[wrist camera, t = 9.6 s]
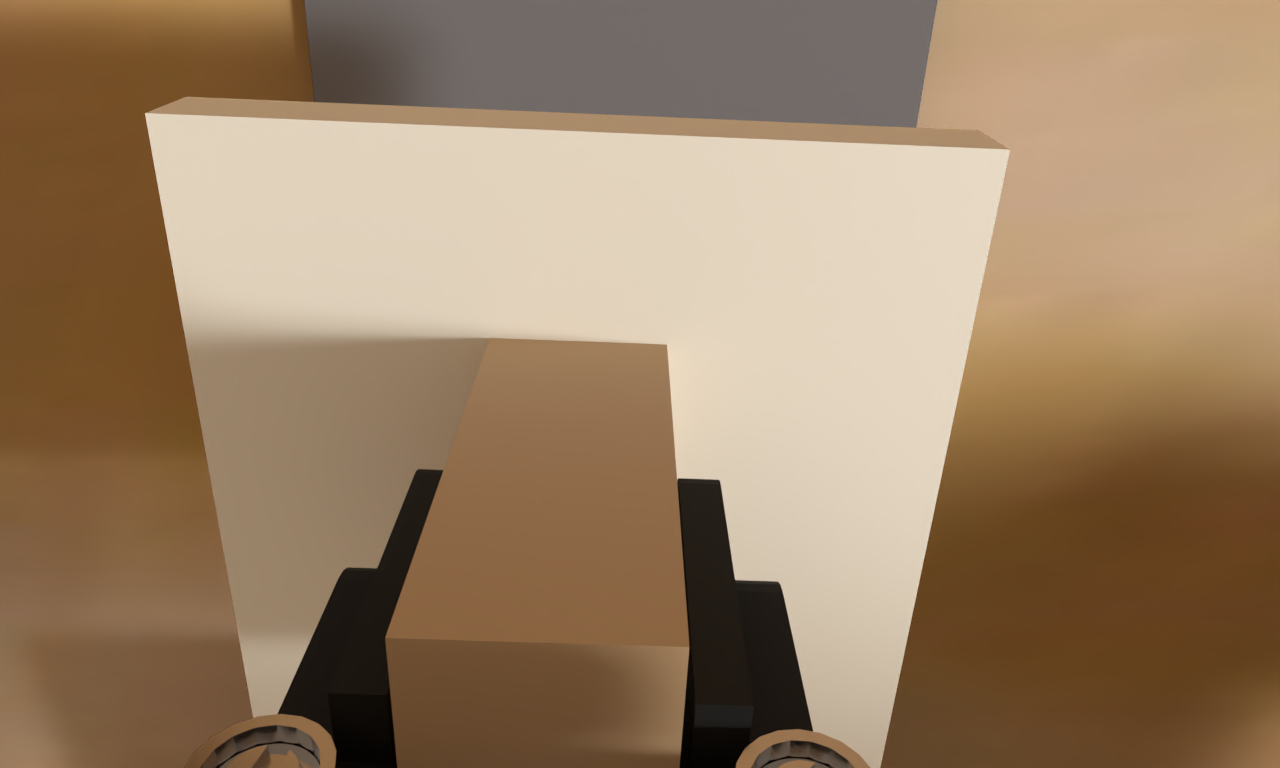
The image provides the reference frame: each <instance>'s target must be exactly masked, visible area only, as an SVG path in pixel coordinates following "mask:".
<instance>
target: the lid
mask: <svg viewBox="0 0 1280 768" xmlns="http://www.w3.org/2000/svg"><path fill="white" fill-rule="evenodd" d="M145 116H146V122H147V128H148V133H149V139H150V144H151V150H152V156H153V161H154V167H155V172H156V178H157V183H158V189H159V195H160V200H161V206H162V211H163V217H164V223H165V228H166V234H167V239H168V245H169V251H170V256H171V262H172V267H173V273H174V278H175V284H176V290H177V295H178V301H179V306H180V312H181V318H182V323H183V329H184V334H185V340H186V345H187V351H188V357H189V362H190V368H191V373H192V379H193V385H194V390H195V396H196V401H197V407H198V412H199V418H200V424H201V429H202V435H203V440H204V446H205V452H206V457H207V463H208V468H209V474H210V480H211V485H212V491H213V496H214V502H215V507H216V513H217V519H218V524H219V530H220V535H221V541H222V547H223V552H224V558H225V563H226V569H227V574H228V580H229V586H230V591H231V597H232V602H233V608H234V614H235V619H236V625H237V630H238V636H239V641H240V647H241V653H242V658H243V664H244V669H245V675H246V681H247V686H248V692H249V697H250V703H251V709H252V714H253V718H255V717H258V716H266V715H275V714H278V712H279V709H280V707H281V705H282V703H283V700H284V698H285V696H286V694H287V692H288V689H289V687H290V685H291V683H292V680H293V678H294V676H295V674H296V672H297V669H298V667H299V665H300V663H301V660H302V658H303V656H304V654H305V652H306V649H307V647H308V645H309V643H310V640H311V638H312V636H313V634H314V632H315V629H316V627H317V625H318V623H319V620H320V618H321V616H322V614H323V612H324V609H325V607H326V605H327V603H328V600H329V598H330V596H331V594H332V592H333V589H334V587H335V585H336V583H337V580H338V578H339V576H340V575H341V573H342V571H343V570H344V569H346V568H348V567H351V568H377V567H378V565H379V562H380V560H381V557H382V555H383V552H384V550H385V547H386V545H387V542H388V540H389V537H390V535H391V532H392V530H393V527H394V525H395V522H396V520H397V517H398V515H399V512H400V510H401V507H402V504H403V502H404V499H405V497H406V494H407V492H408V489H409V487H410V484H411V482H412V479H413V477H414V474H415V472H416V471H417V470H418V469H431V470H443V473H442V476H441V479H440V482H439V485H438V488H437V490H436V493H435V496H434V499H433V502H432V505H431V508H430V511H429V513H428V516H427V519H426V522H425V525H424V528H423V531H422V534H421V536H420V539H419V542H418V545H417V548H416V551H415V554H414V556H413V559H412V562H411V565H410V568H409V571H408V574H407V577H406V579H405V582H404V585H403V588H402V591H401V594H400V597H399V600H398V602H397V605H396V608H395V611H394V614H393V617H392V620H391V623H390V625H389V628H388V631H387V634H386V637H385V642H386V652H387V663H388V674H389V684H390V695H391V706H392V716H393V727H394V738H395V748H396V759H397V768H679V767H680V755H681V743H682V731H683V719H684V707H685V695H686V683H687V671H688V659H689V634H688V620H687V607H686V593H685V580H684V566H683V553H682V539H681V526H680V513H679V499H678V486H677V480H678V478H686V479H714V480H720V484H721V490H722V496H723V503H724V510H725V516H726V523H727V530H728V536H729V543H730V550H731V556H732V563H733V570H734V576H735V580H746V581H776V582H779V583H780V585H781V588H782V591H783V595H784V600H785V604H786V609H787V613H788V618H789V623H790V627H791V632H792V636H793V641H794V646H795V650H796V655H797V659H798V664H799V668H800V673H801V678H802V682H803V687H804V691H805V696H806V701H807V705H808V710H809V714H810V719H811V723H812V728H813V732H818V733H822V734H824V735H827V736H829V737H831V738H834V739H836V740H839V741H841V742H843V743H844V744H845V745H847V746H848V747H849V748H851V749H852V750H854V751H855V752H856V753H858V754H859V755H860V756H861V757H862V758H863V760H864V761H865V762H866V763H867V764H868V766H869V767H870V768H880V767H881V762H882V757H883V753H884V748H885V743H886V738H887V733H888V729H889V724H890V719H891V714H892V710H893V705H894V700H895V695H896V691H897V686H898V681H899V676H900V672H901V667H902V662H903V657H904V652H905V648H906V643H907V638H908V633H909V629H910V624H911V619H912V614H913V610H914V605H915V600H916V595H917V590H918V586H919V581H920V576H921V571H922V567H923V562H924V557H925V552H926V548H927V543H928V538H929V533H930V529H931V524H932V519H933V514H934V509H935V505H936V500H937V495H938V490H939V486H940V481H941V476H942V471H943V467H944V462H945V457H946V452H947V448H948V443H949V438H950V433H951V428H952V424H953V419H954V414H955V409H956V405H957V400H958V395H959V390H960V386H961V381H962V376H963V371H964V366H965V362H966V357H967V352H968V347H969V343H970V338H971V333H972V328H973V324H974V319H975V314H976V309H977V305H978V300H979V295H980V290H981V285H982V281H983V276H984V271H985V266H986V262H987V257H988V252H989V247H990V243H991V238H992V233H993V228H994V223H995V219H996V214H997V209H998V204H999V200H1000V195H1001V190H1002V185H1003V181H1004V176H1005V171H1006V166H1007V162H1008V157H1009V152H1010V149H1008V148H1007V147H1005V146H1003V145H1002V144H1000V143H998V142H997V141H995V140H994V139H992V138H990V137H989V136H987V135H985V134H984V133H982V132H981V131H979V130H958V129H934V128H911V127H887V126H864V125H840V124H817V123H793V122H770V121H747V120H723V119H700V118H676V117H653V116H629V115H606V114H583V113H559V112H536V111H512V110H489V109H465V108H442V107H418V106H395V105H372V104H348V103H325V102H301V101H278V100H254V99H231V98H207V97H184V98H182V99H179V100H177V101H174V102H172V103H169V104H167V105H164V106H162V107H159V108H157V109H154V110H151V111H149V112H146V113H145Z"/></svg>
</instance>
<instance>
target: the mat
mask: <svg viewBox="0 0 1280 768" xmlns="http://www.w3.org/2000/svg"><path fill="white" fill-rule="evenodd" d="M304 2H305V12H306V22H307V32H308V42H309V52H310V62H311V72H312V82H313V91H314V101H315V102H325V103H348V104H372V105H395V106H418V107H442V108H465V109H489V110H512V111H536V112H559V113H583V114H606V115H629V116H653V117H676V118H700V119H723V120H747V121H770V122H793V123H817V124H840V125H864V126H887V127H911V128H916V125H917V119H918V113H919V107H920V101H921V95H922V89H923V83H924V77H925V71H926V65H927V59H928V53H929V47H930V41H931V35H932V29H933V23H934V17H935V11H936V5H937V0H304Z"/></svg>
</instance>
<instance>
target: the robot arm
mask: <svg viewBox="0 0 1280 768" xmlns="http://www.w3.org/2000/svg"><path fill="white" fill-rule="evenodd" d="M442 473H443V470H431V469H418V470H417V471H416V472H415V474H414V477H413V479H412V482H411V484H410V487H409V489H408V492H407V494H406V497H405V499H404V502H403V504H402V507H401V510H400V512H399V515H398V517H397V520H396V522H395V525H394V527H393V530H392V532H391V535H390V537H389V540H388V542H387V545H386V547H385V550H384V552H383V555H382V557H381V560H380V562H379V565H378V567H377V568H351V567H348V568H346V569H344V570H343V571H342V573H341V575H340V576H339V578H338V580H337V583H336V585H335V587H334V589H333V592H332V594H331V596H330V598H329V600H328V603H327V605H326V607H325V609H324V612H323V614H322V616H321V618H320V620H319V623H318V625H317V627H316V629H315V632H314V634H313V636H312V638H311V640H310V643H309V645H308V647H307V649H306V652H305V654H304V656H303V658H302V660H301V663H300V665H299V667H298V669H297V672H296V674H295V676H294V678H293V680H292V683H291V685H290V687H289V689H288V692H287V694H286V696H285V698H284V700H283V703H282V705H281V707H280V709H279V712H278V714H275V715H266V716H258V717H255V718H252V719H248V720H245V721H242V722H239V723H236V724H234V725H232V726H230V727H228V728H227V729H225V730H223V731H221V732H219V733H218V734H216V735H214V736H213V737H211V738H210V739H209V740H208V741H207V742H206V743H205V744H203V745H202V746H201V747H200V748H199V749H198V750H197V751H196V752H195V753H194V754H193V756H192V757H191V759H190V760H189V762H188V763H187V765H186V766H185V768H397V759H396V748H395V738H394V727H393V716H392V706H391V695H390V684H389V674H388V663H387V652H386V642H385V637H386V634H387V631H388V628H389V625H390V623H391V620H392V617H393V614H394V611H395V608H396V605H397V602H398V600H399V597H400V594H401V591H402V588H403V585H404V582H405V579H406V577H407V574H408V571H409V568H410V565H411V562H412V559H413V556H414V554H415V551H416V548H417V545H418V542H419V539H420V536H421V534H422V531H423V528H424V525H425V522H426V519H427V516H428V513H429V511H430V508H431V505H432V502H433V499H434V496H435V493H436V490H437V488H438V485H439V482H440V479H441V476H442ZM677 486H678V499H679V513H680V526H681V539H682V553H683V566H684V580H685V593H686V607H687V620H688V634H689V659H688V671H687V683H686V695H685V707H684V719H683V731H682V743H681V755H680V767H679V768H870V767H869V766H868V764H867V763H866V762H865V761H864V760H863V758H862V757H861V756H860V755H859V754H858V753H856V752H855V751H854V750H852V749H851V748H849V747H848V746H847V745H845V744H844V743H843V742H841V741H839V740H836V739H834V738H831V737H829V736H827V735H824V734H822V733H818V732H813V728H812V723H811V719H810V714H809V710H808V705H807V701H806V696H805V691H804V687H803V682H802V678H801V673H800V668H799V664H798V659H797V655H796V650H795V646H794V641H793V636H792V632H791V627H790V623H789V618H788V613H787V609H786V604H785V600H784V595H783V591H782V588H781V585H780V583H779V582H776V581H746V580H735V576H734V570H733V563H732V556H731V550H730V543H729V536H728V530H727V523H726V516H725V510H724V503H723V496H722V490H721V484H720V480H714V479H686V478H678V480H677Z"/></svg>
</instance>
